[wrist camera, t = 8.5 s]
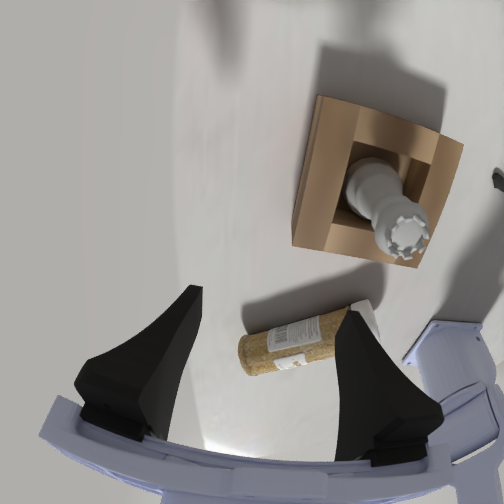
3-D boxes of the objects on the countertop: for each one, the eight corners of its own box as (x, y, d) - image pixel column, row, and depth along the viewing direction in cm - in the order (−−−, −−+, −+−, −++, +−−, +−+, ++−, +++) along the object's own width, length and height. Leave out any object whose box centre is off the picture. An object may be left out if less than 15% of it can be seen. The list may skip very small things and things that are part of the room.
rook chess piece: (407, 186, 19) (457, 239, 12) (365, 222, 21) (396, 288, 14) (371, 142, 18) (419, 178, 11) (327, 183, 20) (349, 239, 13)
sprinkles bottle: (248, 385, 26) (384, 352, 22) (230, 347, 26) (372, 308, 22) (260, 362, 31) (378, 331, 26) (245, 328, 30) (367, 291, 26)
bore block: (440, 134, 17) (463, 144, 14) (402, 244, 22) (416, 268, 19) (316, 95, 17) (323, 95, 14) (291, 222, 22) (292, 245, 19)
